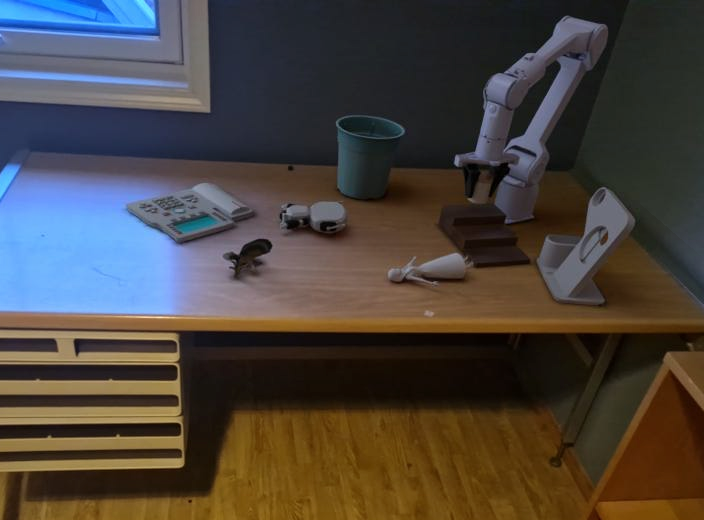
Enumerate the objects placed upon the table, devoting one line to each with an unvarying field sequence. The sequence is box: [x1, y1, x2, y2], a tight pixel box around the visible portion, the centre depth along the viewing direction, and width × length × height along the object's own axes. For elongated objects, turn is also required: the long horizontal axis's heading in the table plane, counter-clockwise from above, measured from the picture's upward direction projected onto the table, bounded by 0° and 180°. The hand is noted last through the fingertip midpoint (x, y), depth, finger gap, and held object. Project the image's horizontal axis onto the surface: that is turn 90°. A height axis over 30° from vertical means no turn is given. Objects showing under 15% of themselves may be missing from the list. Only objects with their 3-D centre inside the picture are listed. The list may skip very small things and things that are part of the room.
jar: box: [467, 171, 494, 204], centre depth 146 cm, size 5×5×6 cm
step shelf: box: [437, 202, 532, 268], centre depth 146 cm, size 20×13×5 cm, turn 15°
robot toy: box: [278, 200, 348, 235], centre depth 147 cm, size 12×4×15 cm
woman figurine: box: [387, 252, 474, 287], centre depth 133 cm, size 12×4×18 cm
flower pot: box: [335, 114, 406, 200], centre depth 161 cm, size 16×16×16 cm
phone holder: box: [535, 186, 636, 306], centre depth 132 cm, size 17×10×18 cm, turn 178°
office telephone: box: [125, 182, 254, 243], centre depth 147 cm, size 23×3×20 cm
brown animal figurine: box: [222, 238, 274, 279], centre depth 129 cm, size 8×7×9 cm
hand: (478, 195), depth 148 cm, fingers closed on jar, 4 cm apart
